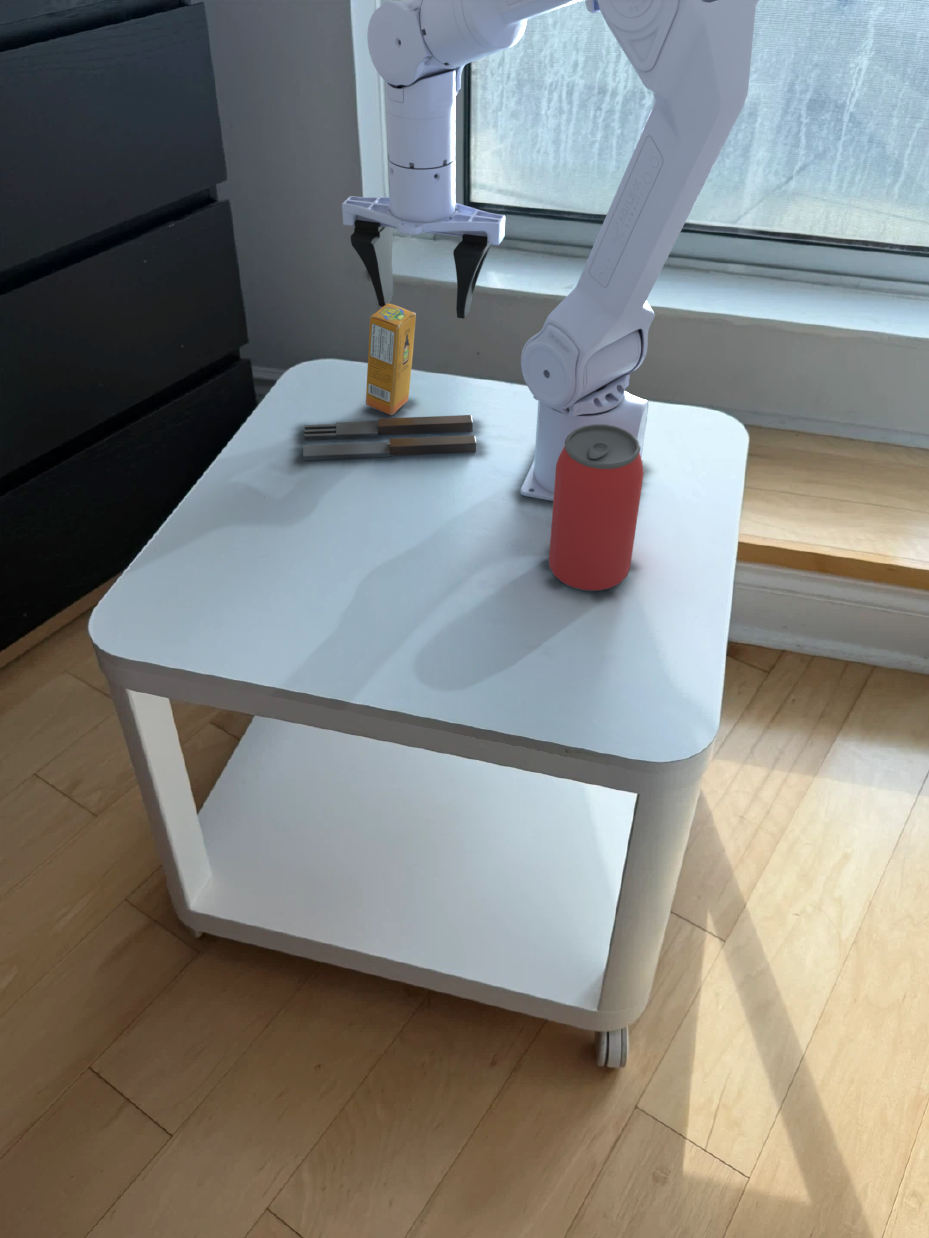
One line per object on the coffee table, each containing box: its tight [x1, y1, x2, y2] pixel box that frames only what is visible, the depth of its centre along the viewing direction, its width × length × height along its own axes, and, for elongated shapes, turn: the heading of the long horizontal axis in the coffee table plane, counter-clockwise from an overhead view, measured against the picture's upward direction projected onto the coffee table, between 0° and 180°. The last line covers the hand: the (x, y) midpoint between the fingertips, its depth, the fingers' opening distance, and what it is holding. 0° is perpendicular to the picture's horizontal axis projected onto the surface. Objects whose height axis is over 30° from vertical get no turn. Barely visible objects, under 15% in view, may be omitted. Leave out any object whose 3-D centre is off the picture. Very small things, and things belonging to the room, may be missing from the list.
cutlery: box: [302, 414, 477, 461], centre depth 101 cm, size 16×6×1 cm, turn 95°
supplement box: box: [365, 302, 417, 416], centre depth 102 cm, size 3×3×10 cm
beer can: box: [548, 424, 645, 592], centre depth 83 cm, size 7×7×12 cm
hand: (424, 308), depth 100 cm, fingers open, 7 cm apart
